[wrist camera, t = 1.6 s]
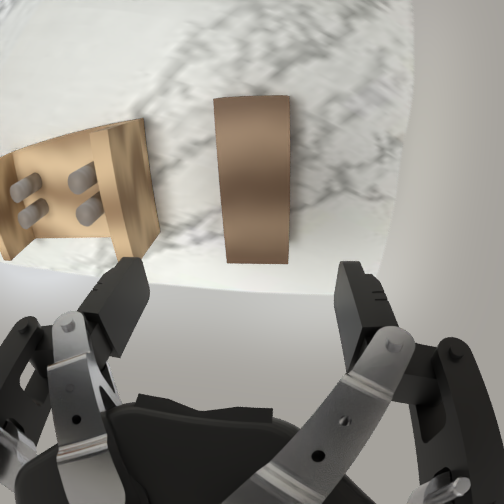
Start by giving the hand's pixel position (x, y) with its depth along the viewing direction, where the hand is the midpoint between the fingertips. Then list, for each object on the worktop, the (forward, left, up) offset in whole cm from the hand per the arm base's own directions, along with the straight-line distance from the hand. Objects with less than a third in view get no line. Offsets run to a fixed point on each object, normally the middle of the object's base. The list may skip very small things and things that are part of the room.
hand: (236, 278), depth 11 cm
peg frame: (0, -19, -14) cm, 24 cm away
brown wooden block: (0, 0, -15) cm, 15 cm away
